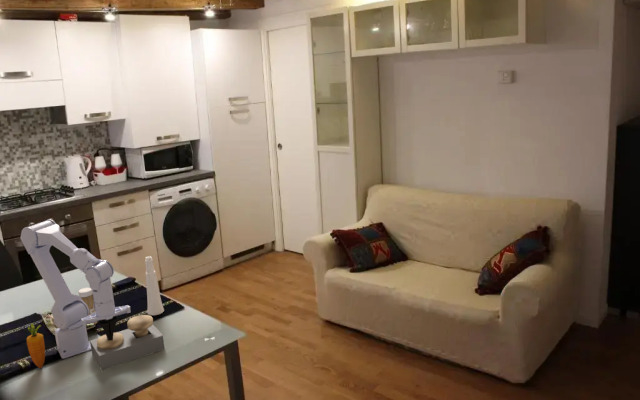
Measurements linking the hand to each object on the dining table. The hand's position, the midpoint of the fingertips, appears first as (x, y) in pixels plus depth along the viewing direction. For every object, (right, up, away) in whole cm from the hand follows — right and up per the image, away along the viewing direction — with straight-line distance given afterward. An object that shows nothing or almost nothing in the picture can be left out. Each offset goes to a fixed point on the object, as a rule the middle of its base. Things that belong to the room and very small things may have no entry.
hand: (110, 339), depth 177 cm
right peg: (+8, -1, +6) cm, 10 cm away
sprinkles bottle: (-16, -1, +25) cm, 30 cm away
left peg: (0, -6, +2) cm, 6 cm away
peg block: (+4, -5, +4) cm, 8 cm away
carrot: (-21, -9, -3) cm, 23 cm away
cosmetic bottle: (+5, +2, +32) cm, 33 cm away
